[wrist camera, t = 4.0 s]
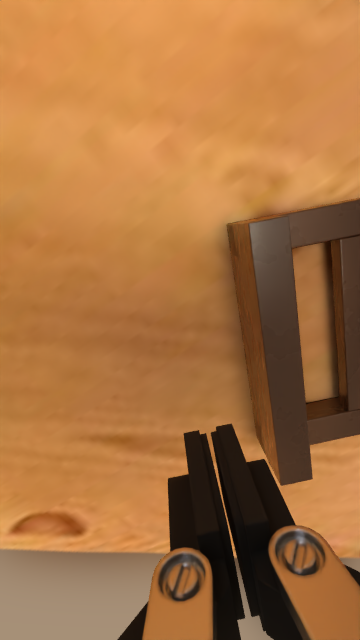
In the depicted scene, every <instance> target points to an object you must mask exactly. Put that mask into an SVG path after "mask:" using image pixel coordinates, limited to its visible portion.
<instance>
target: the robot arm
mask: <svg viewBox="0 0 360 640" xmlns="http://www.w3.org/2000/svg"><path fill="white" fill-rule="evenodd" d="M211 436H212V441H213V447H214V452H215V457H216V463H217V468H218V474H219V479H220V484H221V490H222V495H223V500H224V505H225V509H226V513H227V517H228V521H229V526H230V530H231V534H232V538H233V542H234V546H235V550H236V555H237V559H238V563H239V567H240V571H241V575H242V579H243V584H244V588H245V592H246V596H247V600H248V604H249V608H250V612H251V616H252V617H254V616H258V615H259V616H260V620H261V623H262V627H263V631H266V633H267V635H268V636H270V637H271V638H273V639H274V640H360V572H358V571H356V570H354V569H352V568H350V567H348V566H346V565H344V564H343V563H342V562H341V560H340V559H339V558H338V556H337V555H336V554H335V552H334V551H333V550H332V548H331V547H330V545H329V544H328V543H327V541H326V540H325V539H324V538H323V537H322V536H321V535H320V534H319V533H317V532H315V531H314V530H312V529H310V528H307V527H304V526H297V525H295V523H294V520H293V518H292V516H291V514H290V512H289V510H288V508H287V505H286V503H285V501H284V499H283V497H282V495H281V493H280V490H279V488H278V486H277V484H276V482H275V480H274V478H273V475H272V473H271V471H270V469H269V467H268V465H267V463H266V461H265V460H264V459H261V460H256V461H251V462H246V460H245V457H244V455H243V452H242V449H241V447H240V444H239V442H238V439H237V436H236V434H235V431H234V428H233V426H232V424H227V425H222V426H217V427H216V431H215V432H211ZM184 440H185V448H186V456H187V464H188V472H189V474H187V475H183V476H178V477H173V478H168V499H169V526H170V552H169V553H168V554H166V555H165V556H164V557H163V558H162V559H161V560H160V561H159V563H158V565H157V566H156V568H155V570H154V574H153V577H152V583H151V589H150V595H149V601H148V602H147V604H146V605H145V606H144V607H143V609H142V610H141V611H140V612H139V614H138V615H137V616H136V617H135V619H134V620H133V621H132V622H131V624H130V625H129V626H128V627H127V629H126V630H125V631H124V632H123V634H122V635H121V636H120V637H119V639H118V640H241V637H240V632H239V627H238V622H237V620H239V619H244V618H245V615H244V609H243V605H242V599H241V594H240V588H239V582H238V577H237V572H236V566H235V561H234V556H233V550H232V545H231V540H230V534H229V530H228V525H227V520H226V516H225V512H224V507H223V503H222V499H221V495H220V490H219V486H218V482H217V478H216V473H215V469H214V465H213V461H212V457H211V452H210V448H209V444H208V440H207V435H206V433H205V434H200V433H199V430H198V431H193V432H188V433H184Z"/></svg>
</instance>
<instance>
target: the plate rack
mask: <svg viewBox="0 0 360 640" xmlns="http://www.w3.org/2000/svg"><path fill="white" fill-rule="evenodd" d="M227 230H228V237H229V244H230V251H231V258H232V265H233V273H234V280H235V287H236V294H237V301H238V308H239V315H240V322H241V329H242V336H243V343H244V350H245V357H246V364H247V371H248V378H249V386H250V393H251V400H252V407H253V414H254V421H255V428H256V435H257V439H258V441H259V443H260V445H261V447H262V449H263V451H264V453H265V455H266V457H267V459H268V461H269V463H270V465H271V467H272V469H273V471H274V473H275V475H276V477H277V479H278V481H279V483H280V485H281V486H283V485H287V484H292V483H297V482H301V481H306V480H310V479H313V478H312V467H311V456H310V445H312V444H317V443H322V442H326V441H331V440H336V439H340V438H345V437H350V436H354V435H359V434H360V198H357V199H352V200H347V201H342V202H336V203H331V204H326V205H321V206H316V207H311V208H306V209H301V210H295V211H290V212H285V213H280V214H275V215H270V216H265V217H260V218H254V219H249V220H244V221H239V222H234V223H229V224H227ZM327 241H331V253H332V270H333V287H334V304H335V322H336V339H337V356H338V373H339V390H340V397H336V398H331V399H326V400H321V401H317V402H312V403H307V404H306V401H305V390H304V379H303V368H302V357H301V346H300V335H299V324H298V313H297V302H296V291H295V280H294V269H293V258H292V248H296V247H301V246H307V245H312V244H317V243H322V242H327Z"/></svg>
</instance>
